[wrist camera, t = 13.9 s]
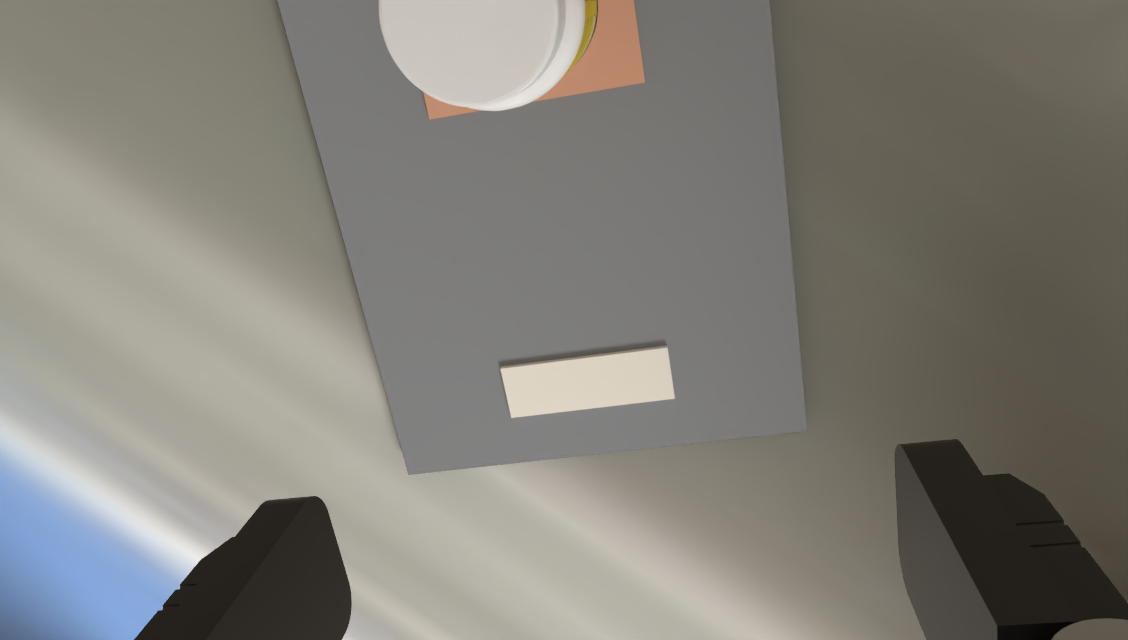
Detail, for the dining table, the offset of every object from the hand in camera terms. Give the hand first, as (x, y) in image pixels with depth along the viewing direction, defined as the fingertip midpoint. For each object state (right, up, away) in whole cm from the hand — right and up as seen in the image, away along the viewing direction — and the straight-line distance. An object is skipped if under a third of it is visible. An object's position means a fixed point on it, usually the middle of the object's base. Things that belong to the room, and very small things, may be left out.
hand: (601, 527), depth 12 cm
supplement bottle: (-2, +13, +14) cm, 19 cm away
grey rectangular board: (-1, +7, +17) cm, 19 cm away
